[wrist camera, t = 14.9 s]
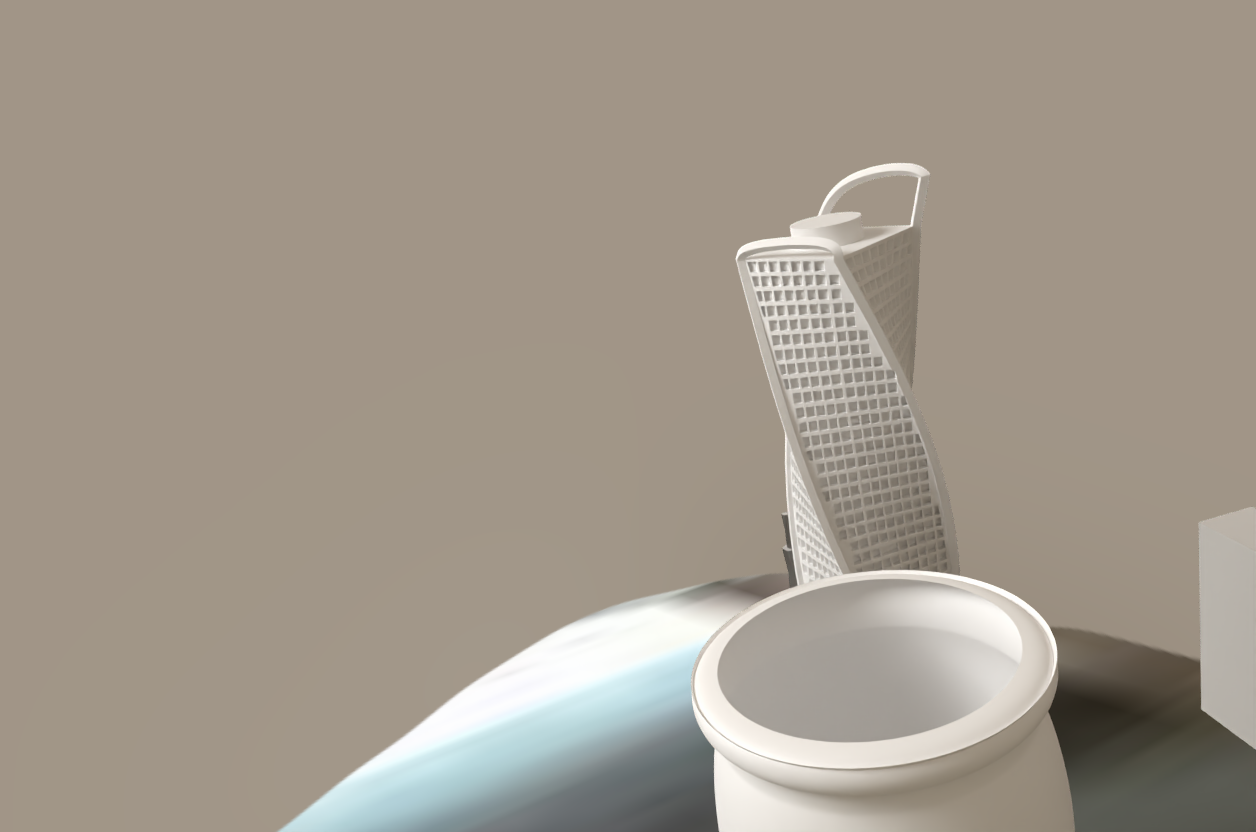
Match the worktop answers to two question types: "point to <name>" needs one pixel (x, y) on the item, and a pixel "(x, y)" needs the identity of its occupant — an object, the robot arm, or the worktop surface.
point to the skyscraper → (850, 391)
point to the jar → (884, 709)
